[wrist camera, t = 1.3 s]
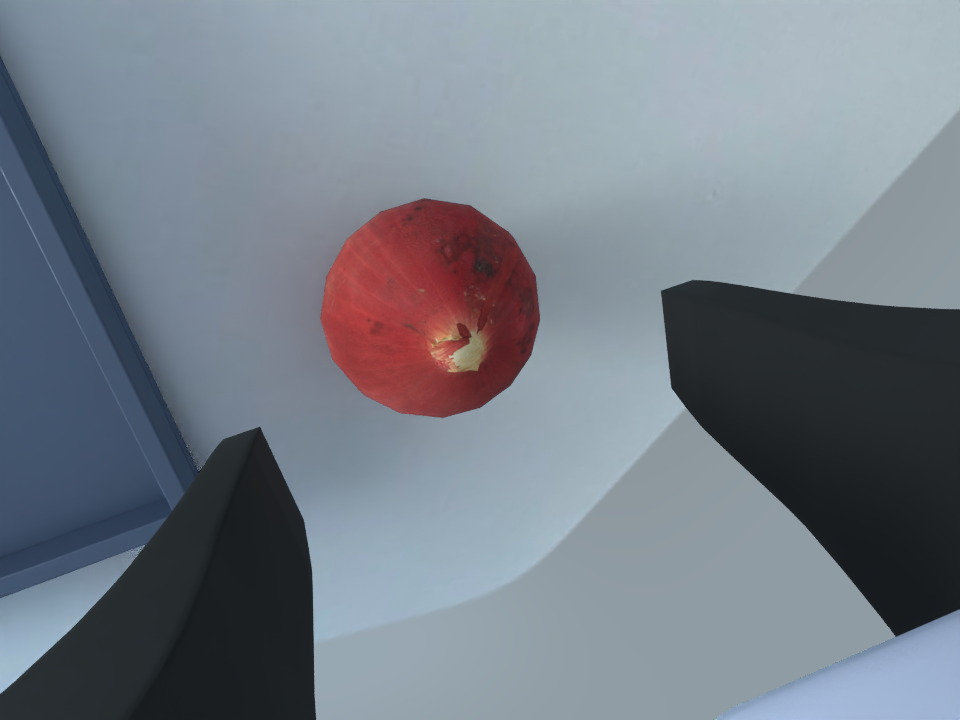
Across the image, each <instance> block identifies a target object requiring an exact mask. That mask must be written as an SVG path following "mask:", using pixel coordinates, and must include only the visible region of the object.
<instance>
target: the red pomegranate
mask: <svg viewBox="0 0 960 720" xmlns="http://www.w3.org/2000/svg"><path fill="white" fill-rule="evenodd" d="M321 322H322V325H323V329H324V332H325V336H326V339H327V342H328V346H329V349H330V352H331V356H332V359H333V361H334V362H335V363H336V364H337V365H338V366H339V367H340V369H341V370H342V371H343V372H344V373H345V374H346V376H347V377H348V378H349V379H350V380H351V381H352V382H353V384H354V385H355V386H356V387H357V388H358V389H359V390H360V391H361V392H362V393H363V394H364V395H365V396H367V397H369V398H371V399H373V400H375V401H377V402H379V403H381V404H383V405H385V406H387V407H389V408H391V409H393V410H395V411H397V412H399V413H404V414H413V415H422V416H432V417H441V418H444V417H448V416H451V415H455V414H459V413H462V412H466V411H470V410H473V409H477V408H480V407H482V406H483V405H484V404H486V403H487V402H488V401H490V400H491V399H493V398H494V397H495V396H497V395H498V394H499V393H501V392H502V391H504V390H505V389H506V388H508V387H509V386H510V385H511V384H512V383H513V381H514V380H515V378H516V377H517V375H518V374H519V372H520V371H521V369H522V368H523V366H524V365H525V363H526V362H527V360H528V359H529V358H530V356H531V353H532V349H533V345H534V341H535V338H536V334H537V330H538V326H539V322H540V313H539V304H538V294H537V285H536V276H535V274H534V272H533V270H532V269H531V267H530V265H529V264H528V262H527V260H526V258H525V257H524V255H523V253H522V251H521V250H520V248H519V246H518V244H517V243H516V241H515V239H514V238H513V237H512V235H511V234H510V233H509V232H508V231H506V230H505V229H503V228H502V227H500V226H499V225H498V224H496V223H495V222H493V221H492V220H490V219H489V218H488V217H486V216H485V215H483V214H482V213H480V212H479V211H478V210H476V209H475V208H473V207H472V206H470V205H463V204H457V203H450V202H444V201H437V200H431V199H421V200H418V201H414V202H411V203H408V204H404V205H401V206H398V207H395V208H391V209H388V210H385V211H382V212H380V213H379V214H377V215H376V216H375V217H374V218H372V219H371V220H370V221H369V222H367V223H366V224H365V225H364V226H362V227H361V228H360V229H359V230H358V231H356V232H355V233H354V234H353V235H351V236H350V237H349V238H348V239H347V240H346V242H345V244H344V245H343V247H342V249H341V251H340V253H339V255H338V256H337V258H336V260H335V262H334V264H333V266H332V268H331V269H330V271H329V273H328V275H327V277H326V284H325V291H324V299H323V306H322V313H321Z"/></svg>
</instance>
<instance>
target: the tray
mask: <svg viewBox="0 0 960 720" xmlns="http://www.w3.org/2000/svg"><path fill="white" fill-rule="evenodd" d="M197 475H198V471H197V469H196V467H195V465H194V463H193V461H192V459H191V457H190V454H189V452H188V450H187V448H186V446H185V444H184V442H183V440H182V438H181V436H180V433H179V431H178V429H177V427H176V425H175V423H174V421H173V419H172V417H171V415H170V412H169V410H168V408H167V406H166V404H165V402H164V400H163V398H162V396H161V394H160V391H159V389H158V387H157V385H156V383H155V381H154V379H153V377H152V375H151V373H150V370H149V368H148V366H147V364H146V362H145V360H144V358H143V356H142V354H141V351H140V349H139V347H138V345H137V343H136V341H135V339H134V337H133V335H132V333H131V330H130V328H129V326H128V324H127V322H126V320H125V318H124V316H123V314H122V312H121V309H120V307H119V305H118V303H117V301H116V299H115V297H114V295H113V293H112V291H111V288H110V286H109V284H108V282H107V280H106V278H105V276H104V274H103V272H102V270H101V267H100V265H99V263H98V261H97V259H96V257H95V255H94V253H93V251H92V249H91V246H90V244H89V242H88V240H87V238H86V236H85V234H84V232H83V230H82V228H81V225H80V223H79V221H78V219H77V217H76V215H75V213H74V211H73V209H72V207H71V204H70V202H69V200H68V198H67V196H66V194H65V192H64V190H63V188H62V185H61V183H60V181H59V179H58V177H57V175H56V173H55V171H54V169H53V167H52V164H51V162H50V160H49V158H48V156H47V154H46V152H45V150H44V148H43V146H42V143H41V141H40V139H39V137H38V135H37V133H36V131H35V129H34V127H33V125H32V122H31V120H30V118H29V116H28V114H27V112H26V110H25V108H24V106H23V104H22V101H21V99H20V97H19V95H18V93H17V91H16V89H15V87H14V85H13V83H12V80H11V78H10V76H9V74H8V72H7V70H6V68H5V66H4V64H3V62H2V59H1V57H0V598H2V597H4V596H7V595H10V594H13V593H15V592H18V591H21V590H23V589H26V588H29V587H31V586H34V585H37V584H39V583H42V582H45V581H47V580H50V579H53V578H56V577H58V576H61V575H64V574H66V573H69V572H72V571H74V570H77V569H80V568H82V567H85V566H88V565H91V564H93V563H96V562H99V561H101V560H104V559H107V558H109V557H112V556H115V555H117V554H120V553H123V552H125V551H128V550H131V549H134V548H136V547H139V546H142V545H144V544H147V543H148V542H149V541H150V539H151V538H152V537H153V535H154V534H155V533H156V532H157V530H158V529H159V528H160V527H161V525H162V524H163V523H164V521H165V520H166V519H167V517H168V516H169V515H170V513H171V512H172V511H173V509H174V508H175V506H176V505H177V503H178V502H179V501H180V499H181V498H182V496H183V495H184V493H185V492H186V491H187V489H188V488H189V486H190V485H191V483H192V482H193V481H194V479H195V478H196V476H197Z"/></svg>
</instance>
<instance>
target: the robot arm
mask: <svg viewBox="0 0 960 720" xmlns="http://www.w3.org/2000/svg"><path fill="white" fill-rule="evenodd" d="M661 295H662V304H663V314H664V323H665V332H666V341H667V351H668V360H669V369H670V379H671V388H672V389H673V390H674V392H675V393H676V394H677V396H678V397H679V398H680V400H681V401H682V403H683V404H684V405H685V407H686V408H687V409H688V410H689V412H690V413H691V414H692V415H693V416H694V418H695V419H696V420H697V422H698V423H699V424H700V425H701V426H702V428H704V430H705V431H707V432H708V433H709V434H710V435H711V436H712V437H713V438H714V439H715V440H716V441H717V442H718V443H719V444H720V445H721V446H722V447H723V448H724V449H725V450H726V451H728V453H729V454H730V455H731V456H733V457H734V458H735V459H736V460H737V461H738V462H739V463H740V464H741V465H742V466H743V467H744V468H745V469H746V470H748V471H749V472H750V473H751V474H752V475H753V476H754V477H755V478H756V479H757V480H758V481H759V482H760V483H762V485H764V486H765V487H766V488H767V489H768V490H769V491H770V492H771V493H772V494H773V495H774V496H775V497H776V498H778V499H779V500H780V501H781V502H782V503H783V504H784V505H785V506H786V507H787V508H788V509H789V510H790V511H791V512H792V513H793V514H794V515H795V516H796V517H797V518H798V519H799V520H800V521H801V522H802V523H803V524H804V525H805V526H806V527H807V529H808V530H809V531H810V532H811V533H812V534H813V535H814V537H815V538H816V539H817V540H818V541H819V543H820V544H821V545H822V546H823V547H824V548H825V550H826V551H827V552H828V553H829V554H830V555H831V557H832V558H833V559H834V560H835V561H836V562H837V563H838V565H839V566H840V567H841V568H842V569H843V571H844V572H845V573H846V574H847V575H848V577H849V578H850V579H851V580H852V582H853V583H854V584H855V585H856V587H857V588H858V589H859V590H860V592H861V593H862V594H863V595H864V596H865V598H866V599H867V600H868V602H869V603H870V604H871V605H872V606H873V608H874V609H875V610H876V611H877V613H878V614H879V615H880V616H881V618H882V619H883V620H884V622H885V623H886V624H887V626H888V627H889V628H890V629H891V631H892V632H893V633H894V635H895V636H896V637H895V638H892V639H890V640H888V641H885V642H883V643H881V644H879V645H876V646H874V647H871V648H869V649H867V650H865V651H862V652H860V653H858V654H855V655H853V656H851V657H848V658H846V659H844V660H841V661H839V662H837V663H834V664H832V665H830V666H828V667H825V668H823V669H821V670H818V671H816V672H814V673H811V674H809V675H807V676H804V677H802V678H800V679H798V680H795V681H793V682H791V683H788V684H786V685H783V686H781V687H779V688H777V689H774V690H772V691H770V692H767V693H765V694H763V695H761V696H758V697H756V698H753V699H751V700H749V701H746V702H744V703H742V704H740V705H737V706H735V707H733V708H731V709H730V710H728V711H726V712H725V713H723V714H722V715H720V716H718V717H717V718H715V719H714V720H960V310H959V309H931V308H929V309H928V308H911V307H894V306H882V305H871V304H863V303H855V302H846V301H837V300H829V299H823V298H816V297H809V296H802V295H796V294H790V293H784V292H778V291H772V290H766V289H760V288H754V287H748V286H742V285H735V284H729V283H721V282H713V281H702V280H692V281H689V282H686V283H683V284H680V285H677V286H674V287H671V288H668V289H665V290H662V291H661ZM0 720H316V713H315V697H314V635H313V584H312V567H311V561H310V554H309V548H308V542H307V536H306V530H305V524H304V519H303V517H302V515H301V513H300V511H299V509H298V507H297V505H296V503H295V500H294V498H293V496H292V494H291V492H290V490H289V488H288V486H287V483H286V481H285V479H284V477H283V475H282V473H281V471H280V469H279V466H278V464H277V462H276V460H275V458H274V456H273V454H272V452H271V449H270V447H269V445H268V443H267V441H266V439H265V437H264V435H263V432H262V430H261V428H260V427H258V428H255V429H252V430H249V431H246V432H243V433H240V434H237V435H234V436H231V437H229V438H226V439H223V440H222V441H221V442H220V444H219V445H218V446H217V447H216V449H215V450H214V452H213V453H212V454H211V456H210V457H209V459H208V460H207V462H206V463H205V464H204V466H203V467H202V469H201V470H200V472H199V473H198V475H197V476H196V478H195V479H194V481H193V482H192V483H191V485H190V486H189V488H188V489H187V491H186V492H185V493H184V495H183V496H182V498H181V499H180V501H179V502H178V503H177V505H176V506H175V508H174V509H173V511H172V512H171V513H170V515H169V516H168V517H167V519H166V520H165V521H164V523H163V524H162V525H161V527H160V528H159V529H158V530H157V532H156V533H155V534H154V535H153V537H152V538H151V539H150V541H149V542H148V543H147V544H146V546H145V547H144V548H143V550H142V551H141V552H140V553H139V555H138V556H137V557H136V559H135V560H134V561H133V562H132V564H131V565H130V566H129V567H128V568H127V570H126V571H125V572H124V573H123V574H122V575H121V577H120V578H119V579H118V580H117V581H116V582H115V583H114V585H113V586H112V587H111V588H110V589H109V590H108V591H107V592H106V593H105V594H104V596H103V597H102V598H101V599H100V600H99V601H98V602H97V603H96V604H95V605H94V606H93V607H92V608H91V609H90V610H89V611H88V613H87V614H86V615H85V616H84V617H83V618H82V619H81V620H80V621H79V622H78V623H77V624H76V625H75V626H74V627H73V628H72V629H71V630H70V631H69V632H68V633H67V634H66V635H64V636H63V637H62V638H61V639H60V640H59V641H58V642H57V643H56V644H55V645H54V646H53V647H52V648H50V649H49V650H48V651H47V652H46V653H45V654H44V655H43V656H42V657H41V658H40V659H39V660H38V661H36V662H35V663H34V664H33V665H32V666H31V667H30V668H29V669H28V670H27V671H26V672H25V673H24V674H23V675H21V676H20V677H19V678H18V679H17V680H16V681H15V682H14V683H13V684H11V685H10V686H9V687H8V688H7V689H6V690H5V691H3V692H2V693H1V694H0Z"/></svg>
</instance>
